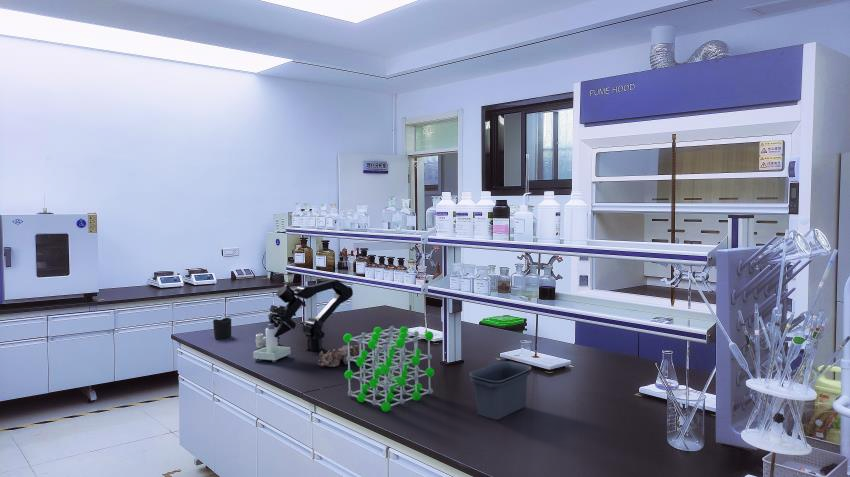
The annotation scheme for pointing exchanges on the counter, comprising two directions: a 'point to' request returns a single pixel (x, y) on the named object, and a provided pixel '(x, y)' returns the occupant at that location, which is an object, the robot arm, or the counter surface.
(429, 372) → the molecular structure model
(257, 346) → the valve
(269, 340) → the bottle
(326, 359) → the mineral formation
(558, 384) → the counter surface
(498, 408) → the storage bin
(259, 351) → the shallow mint tray
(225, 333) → the pen holder
